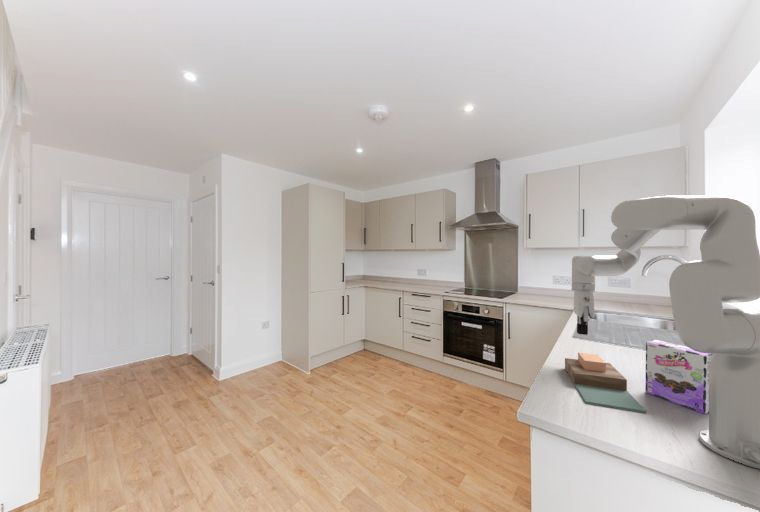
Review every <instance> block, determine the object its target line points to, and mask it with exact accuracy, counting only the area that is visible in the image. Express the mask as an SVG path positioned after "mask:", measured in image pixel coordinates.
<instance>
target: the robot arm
mask: <svg viewBox="0 0 760 512" xmlns="http://www.w3.org/2000/svg"><path fill="white" fill-rule="evenodd" d="M610 219H611V223H612V224H613V226H614V227H616V228H615V230H614V231H613V232H612V233H611V235H610V238H611V239H610V240H611V242H612V243H613V245H614V246H616V247H617V248H619V249H620V250H619V251H618V252H617V253H616V254H615V255H575V256H573V257H572V258H571V259H572V260H571V291H572V292H573V312H574V314H575V315H576V322H577V323H576V333H577V334H578V335H585V336H587V335H588V334H589V331H588V330H589V327H588V326H589V318H591V319H594V318H595V299H594V298H595V297H594V293H595V292H596V277H618V276H622V275H624V274H626V273H627V272H628V271H630V270H631V269H632V268H634V267H636V265H637V263H639V261H640V258H641V253H642V252H641V247H643V246H644V245H645V244H646V243H647V242H648V241H650V239H652V238H653V237H655V235H657V234H658V233H659V232H661V231H662V230H663V231H664V230H665V231H669V230H671V231H675V230H679V231H685V230H705V232H704V233H703V234H702V236H701V239H700V243H699V250H700V255H701V260H691V261H686V262H683V263H681V264H679V265H678V266H677V267H675V268H674V270H673V271H672V273H671V275H670V278H669V282H668V287H669V295H670V303H671V309H672V316H673V323H674V329H675V332H676V334H677V336H678V338H679V340H680V341H681V342H682V343H683V344H684V346H685V347H689V348H690V349H692V350H695V351H697V352H701V353H711V354H713V356H712V359H711V362H710V368H709V413H708V429H702V430H701V431H700V430H699V433H698V440H700V442H701V443H702V444H703V445H704V446H705V447H706V448H708V449H710V450H711V451H713V452H714V453H716V454H717V455H720V456H722V457H725V458H726V459H728V458H729V460H731V461H733V460H734V462H736V463H738V462H739V463H738V464H741V463H742V464H741V465H745V466H747V467H751V468H755V469H758V470H760V311H759V310H755V309H749V308H748V309H747V308H724V307H723V304H728V303H729V304H732V303H733V304H735V303H736V304H737V303H747V302H753V301H756V300H758V299H760V249H759V246H758V242H757V233H756V216H755V213H754V211H753V209H752V208H751V206H750V205H749V204H748V203H746V202H745V201H743V200H742V199H738V198H735V197H730V196H725V195H724V196H723V195H665V196H664V195H662V196H653V197H652V196H651V197H646V198H645V197H643V198H637V199H627V200H624V201H621V202H620V203H618V204H617V205H616V206H615V207H614V208H613V209H612V212H611V216H610Z"/></svg>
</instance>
